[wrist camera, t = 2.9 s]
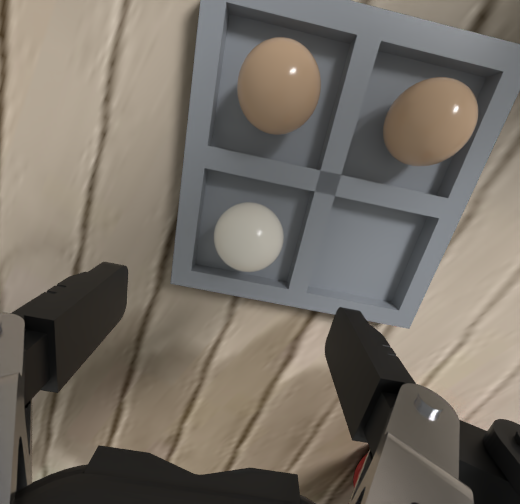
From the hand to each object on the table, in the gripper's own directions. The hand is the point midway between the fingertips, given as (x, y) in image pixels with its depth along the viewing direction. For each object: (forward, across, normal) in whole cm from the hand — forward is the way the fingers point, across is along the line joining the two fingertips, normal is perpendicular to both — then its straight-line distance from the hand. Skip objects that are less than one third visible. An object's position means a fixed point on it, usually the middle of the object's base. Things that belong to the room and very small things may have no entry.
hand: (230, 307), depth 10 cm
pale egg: (+10, 0, 0) cm, 10 cm away
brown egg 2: (+10, -10, -10) cm, 17 cm away
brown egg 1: (+10, 0, -10) cm, 14 cm away
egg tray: (+13, -5, -5) cm, 15 cm away
